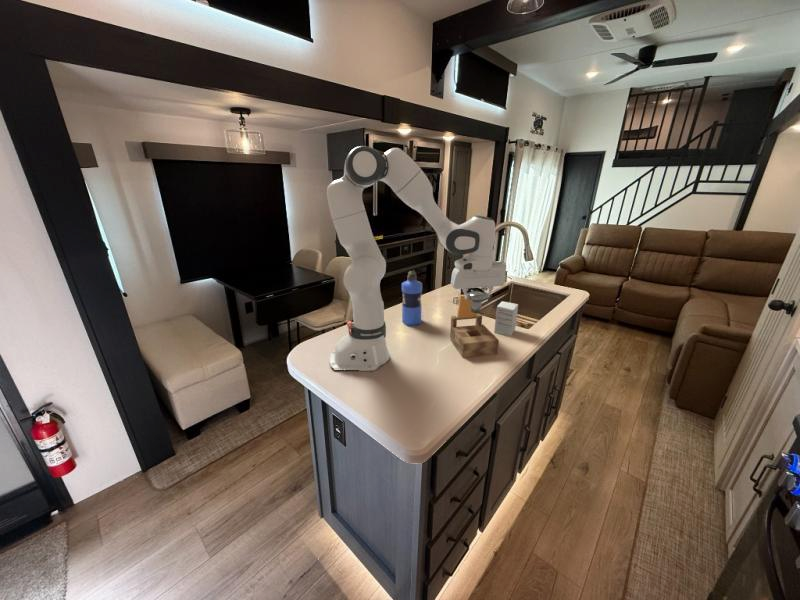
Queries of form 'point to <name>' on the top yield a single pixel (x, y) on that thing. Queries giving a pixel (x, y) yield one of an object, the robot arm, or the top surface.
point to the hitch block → (473, 339)
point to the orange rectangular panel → (465, 309)
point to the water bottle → (411, 300)
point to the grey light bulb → (476, 301)
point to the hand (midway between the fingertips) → (476, 298)
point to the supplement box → (506, 318)
